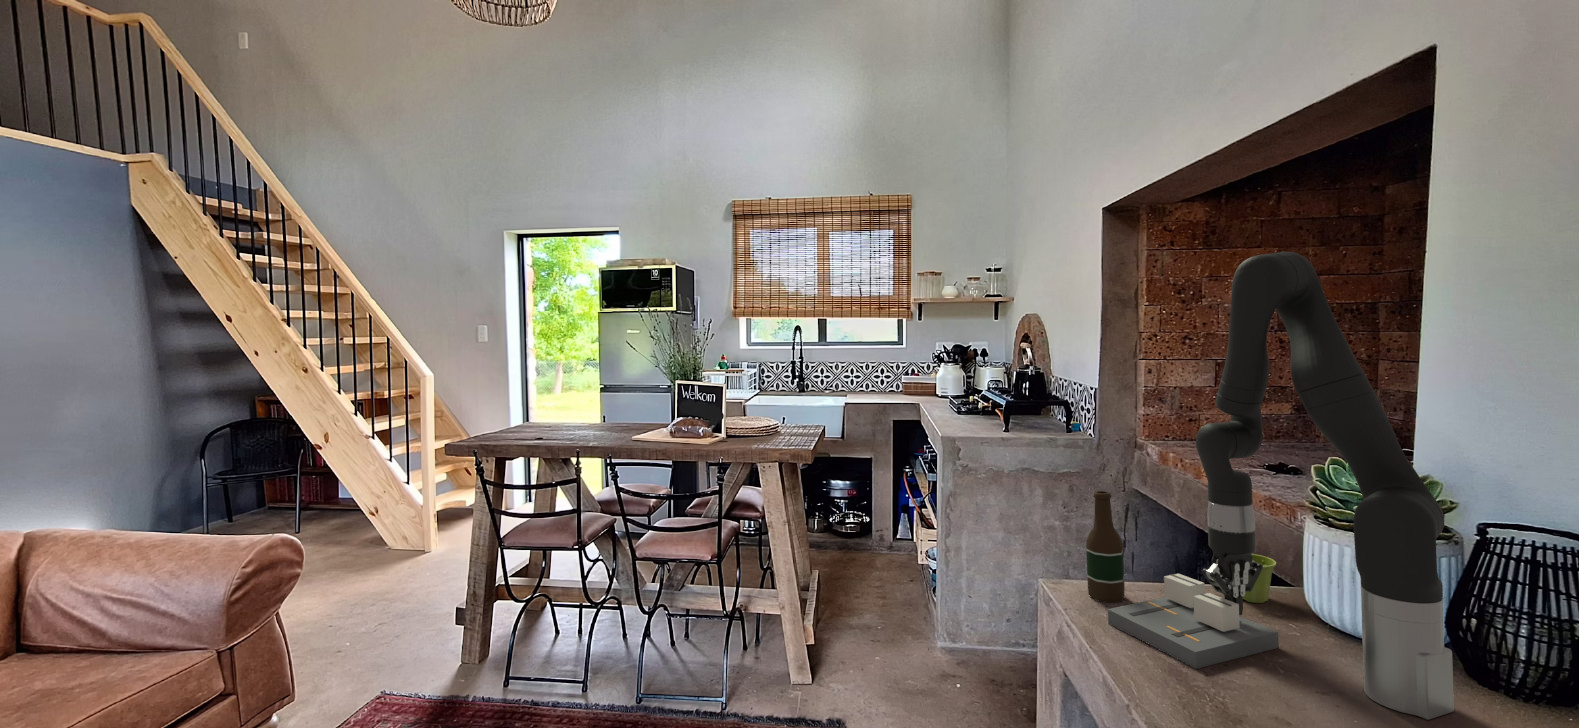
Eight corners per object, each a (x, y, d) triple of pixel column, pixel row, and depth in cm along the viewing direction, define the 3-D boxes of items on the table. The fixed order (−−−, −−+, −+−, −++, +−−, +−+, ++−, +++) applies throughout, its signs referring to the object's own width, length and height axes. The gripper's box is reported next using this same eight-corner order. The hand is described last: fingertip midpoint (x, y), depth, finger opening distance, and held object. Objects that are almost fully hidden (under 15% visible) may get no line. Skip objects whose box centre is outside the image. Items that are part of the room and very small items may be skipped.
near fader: (1239, 628, 118) (1238, 603, 118) (1223, 631, 117) (1222, 607, 117) (1209, 615, 124) (1208, 592, 124) (1194, 619, 123) (1193, 595, 123)
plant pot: (1218, 588, 145) (1216, 551, 145) (1265, 591, 142) (1264, 553, 142) (1234, 605, 136) (1233, 565, 136) (1286, 608, 133) (1284, 567, 133)
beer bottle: (1130, 604, 139) (1126, 496, 139) (1092, 603, 141) (1088, 496, 140) (1119, 590, 147) (1115, 488, 146) (1083, 589, 148) (1079, 488, 148)
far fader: (1205, 605, 129) (1204, 582, 129) (1190, 608, 128) (1189, 585, 127) (1179, 594, 135) (1178, 572, 134) (1164, 597, 133) (1163, 575, 133)
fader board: (1278, 647, 117) (1278, 631, 117) (1195, 668, 111) (1195, 651, 111) (1183, 607, 136) (1182, 593, 136) (1108, 623, 130) (1107, 608, 130)
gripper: (1222, 535, 116) (1226, 628, 116) (1276, 525, 120) (1279, 616, 120) (1186, 524, 123) (1190, 612, 124) (1238, 516, 127) (1241, 601, 127)
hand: (1234, 614), depth 122 cm, fingers closed
